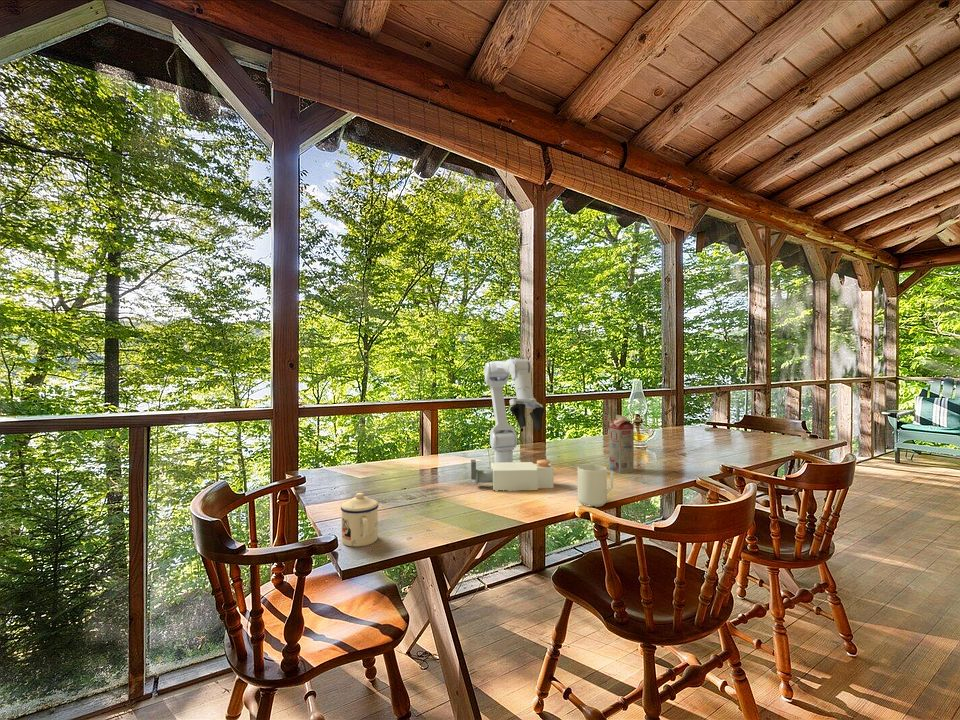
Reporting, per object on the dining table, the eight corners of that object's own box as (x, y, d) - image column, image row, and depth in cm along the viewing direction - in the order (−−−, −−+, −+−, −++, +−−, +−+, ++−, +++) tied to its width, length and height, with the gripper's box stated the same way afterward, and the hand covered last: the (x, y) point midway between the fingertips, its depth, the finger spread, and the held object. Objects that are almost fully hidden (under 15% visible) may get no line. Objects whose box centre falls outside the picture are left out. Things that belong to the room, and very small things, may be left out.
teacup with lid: (337, 537, 120) (337, 491, 120) (373, 531, 124) (373, 486, 124) (346, 555, 110) (346, 504, 109) (385, 548, 113) (385, 499, 113)
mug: (587, 509, 142) (587, 472, 142) (572, 500, 151) (572, 465, 150) (621, 505, 146) (621, 468, 146) (604, 496, 154) (604, 462, 154)
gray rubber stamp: (470, 481, 169) (470, 459, 169) (505, 481, 169) (505, 459, 169) (471, 485, 164) (471, 462, 164) (506, 484, 165) (506, 462, 164)
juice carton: (619, 473, 185) (619, 416, 185) (609, 469, 191) (609, 414, 191) (633, 471, 187) (633, 416, 187) (623, 468, 194) (623, 414, 193)
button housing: (490, 481, 173) (490, 462, 173) (548, 481, 174) (548, 461, 174) (493, 491, 161) (493, 470, 161) (555, 490, 162) (555, 469, 162)
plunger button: (535, 470, 170) (535, 459, 170) (548, 469, 170) (548, 459, 170) (537, 473, 165) (537, 462, 165) (551, 473, 165) (551, 462, 165)
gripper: (517, 382, 159) (524, 421, 153) (546, 389, 168) (553, 426, 162) (502, 390, 163) (509, 428, 157) (531, 397, 172) (538, 432, 166)
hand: (530, 427), depth 160 cm, fingers open, 7 cm apart
